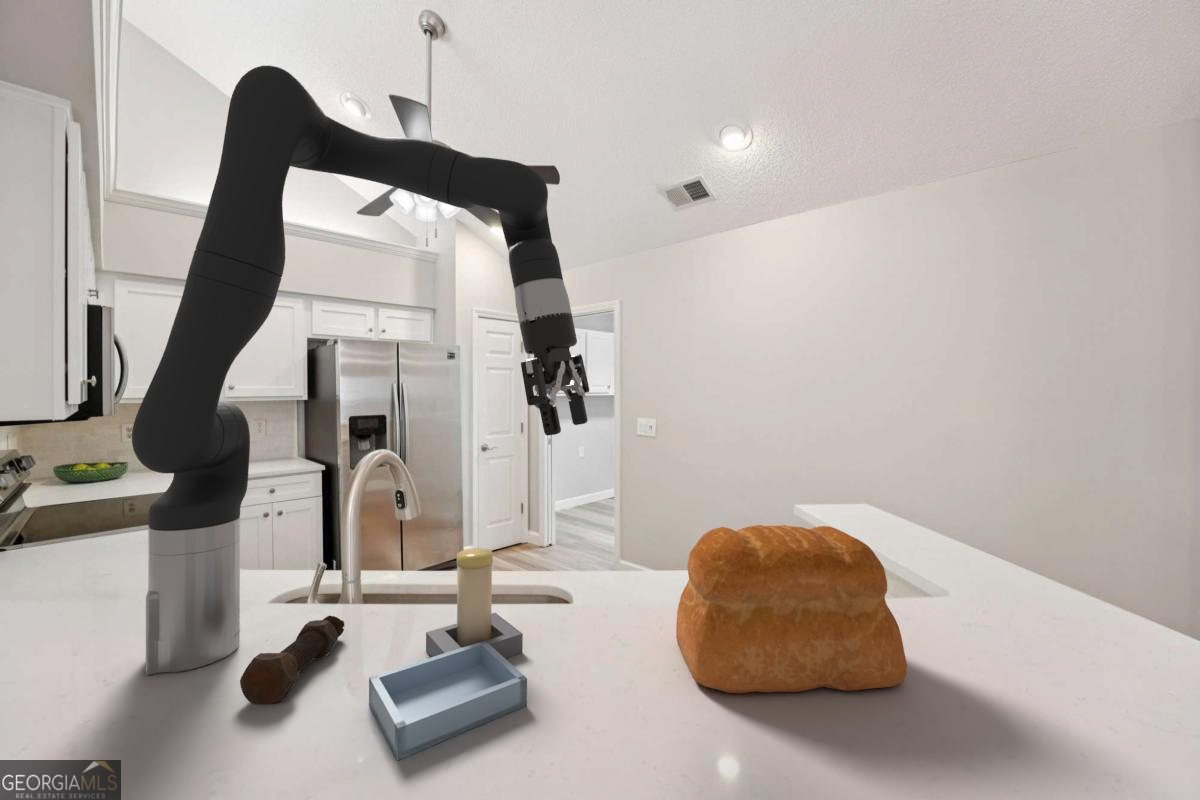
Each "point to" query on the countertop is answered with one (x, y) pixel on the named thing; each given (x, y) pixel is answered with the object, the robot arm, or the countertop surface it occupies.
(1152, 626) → the countertop surface
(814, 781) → the countertop surface
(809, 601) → the bread
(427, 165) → the robot arm
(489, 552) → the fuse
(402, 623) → the countertop surface
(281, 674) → the bolt
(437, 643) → the fuse holder
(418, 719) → the parts tray
